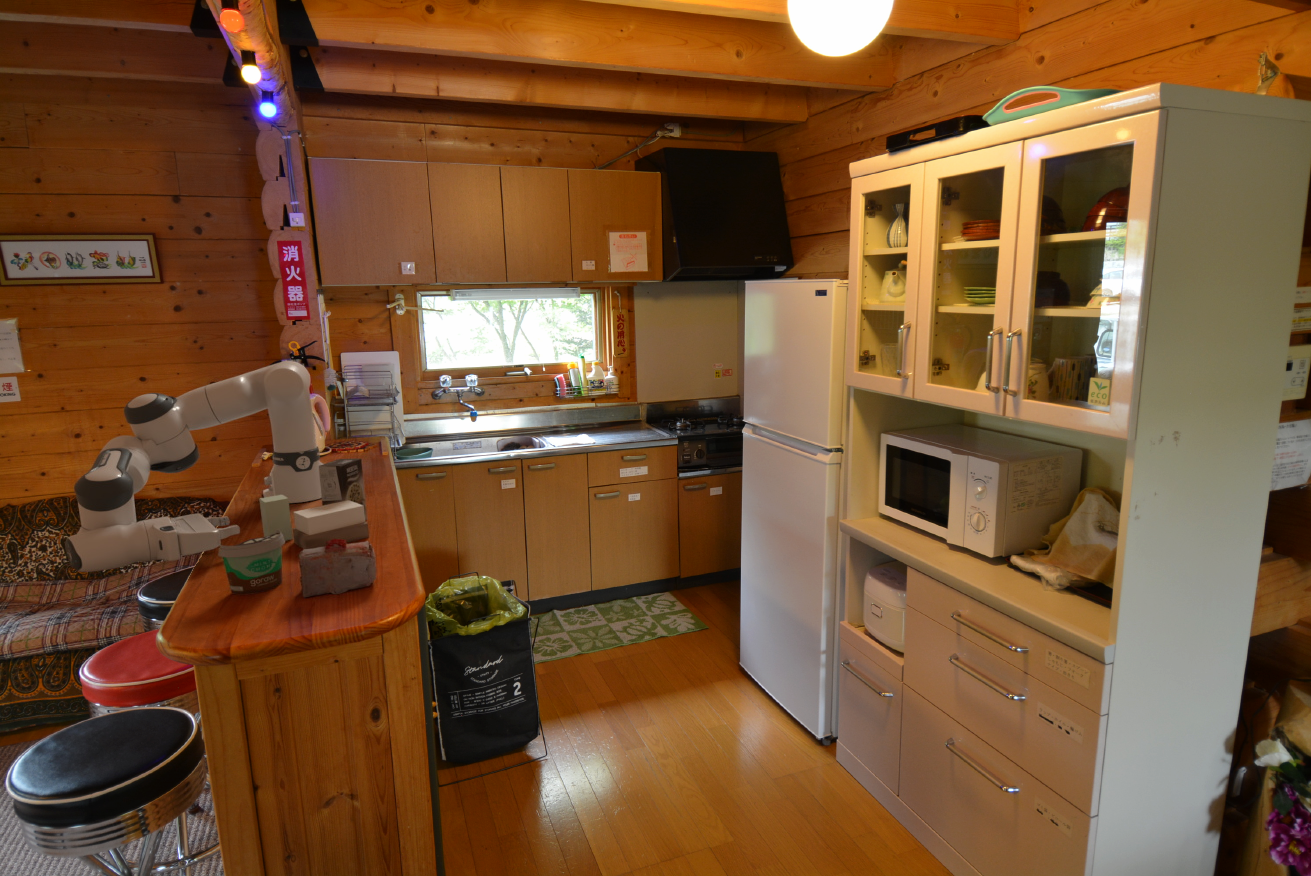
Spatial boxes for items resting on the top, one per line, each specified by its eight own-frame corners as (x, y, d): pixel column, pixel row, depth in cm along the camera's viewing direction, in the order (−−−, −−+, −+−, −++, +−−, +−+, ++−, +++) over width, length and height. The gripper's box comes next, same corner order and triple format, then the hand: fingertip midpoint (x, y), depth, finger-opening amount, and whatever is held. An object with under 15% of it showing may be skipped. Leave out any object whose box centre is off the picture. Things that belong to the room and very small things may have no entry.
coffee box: (347, 530, 183) (340, 465, 180) (323, 529, 184) (316, 465, 181) (368, 519, 191) (362, 458, 189) (346, 518, 193) (339, 457, 190)
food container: (241, 601, 139) (234, 550, 138) (223, 595, 143) (216, 545, 141) (302, 580, 150) (297, 532, 148) (284, 575, 153) (278, 528, 151)
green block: (264, 539, 177) (259, 498, 176) (286, 534, 181) (282, 494, 179) (270, 544, 174) (264, 502, 172) (293, 539, 177) (288, 498, 175)
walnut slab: (294, 544, 174) (292, 528, 173) (354, 531, 183) (353, 515, 183) (307, 553, 168) (305, 536, 167) (369, 539, 177) (367, 523, 176)
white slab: (295, 528, 173) (293, 511, 173) (350, 515, 182) (348, 500, 182) (309, 535, 168) (307, 518, 167) (365, 521, 177) (363, 505, 176)
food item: (375, 575, 152) (370, 529, 150) (379, 588, 144) (374, 539, 143) (301, 588, 146) (295, 539, 144) (301, 602, 139) (295, 551, 137)
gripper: (156, 540, 169) (224, 528, 178) (172, 563, 154) (246, 547, 163) (152, 514, 168) (221, 502, 177) (168, 533, 153) (243, 520, 162)
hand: (233, 524), depth 170 cm, fingers open, 8 cm apart
